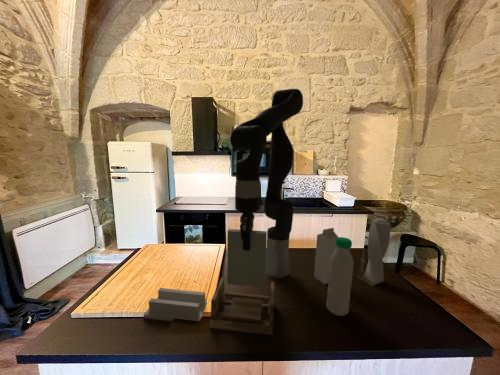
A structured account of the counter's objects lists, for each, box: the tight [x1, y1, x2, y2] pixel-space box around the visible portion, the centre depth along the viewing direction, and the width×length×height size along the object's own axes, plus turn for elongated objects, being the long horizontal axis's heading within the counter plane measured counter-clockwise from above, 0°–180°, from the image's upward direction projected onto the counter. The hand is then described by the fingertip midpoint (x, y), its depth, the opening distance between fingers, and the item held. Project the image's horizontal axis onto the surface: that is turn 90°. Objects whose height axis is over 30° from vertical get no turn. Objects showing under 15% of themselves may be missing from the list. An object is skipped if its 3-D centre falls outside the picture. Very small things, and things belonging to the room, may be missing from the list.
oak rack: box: [209, 277, 275, 336], centre depth 69 cm, size 14×18×9 cm
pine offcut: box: [230, 297, 262, 320], centre depth 66 cm, size 4×9×3 cm, turn 83°
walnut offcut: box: [222, 305, 263, 325], centre depth 66 cm, size 4×12×3 cm, turn 83°
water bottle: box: [326, 236, 355, 317], centre depth 72 cm, size 7×7×25 cm
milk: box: [313, 227, 339, 285], centre depth 90 cm, size 6×6×22 cm
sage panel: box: [226, 228, 268, 288], centre depth 70 cm, size 2×12×18 cm, turn 83°
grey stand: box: [143, 287, 208, 322], centre depth 72 cm, size 10×18×5 cm, turn 83°
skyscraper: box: [356, 213, 391, 287], centre depth 89 cm, size 8×8×28 cm
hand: (246, 247), depth 69 cm, fingers closed on sage panel, 2 cm apart
